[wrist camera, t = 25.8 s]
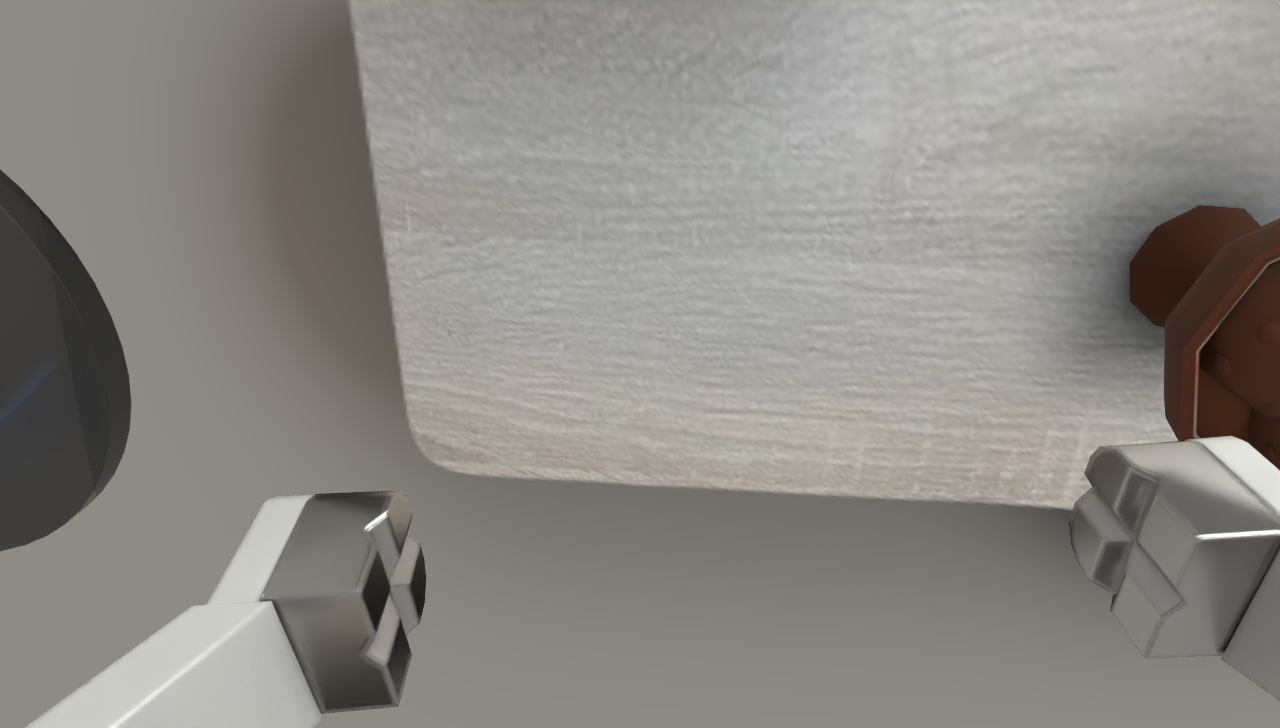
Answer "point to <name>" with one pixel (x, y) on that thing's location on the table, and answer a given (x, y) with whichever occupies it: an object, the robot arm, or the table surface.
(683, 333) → the table surface
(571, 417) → the table surface
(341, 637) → the robot arm
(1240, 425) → the ice cream bowl
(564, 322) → the table surface
